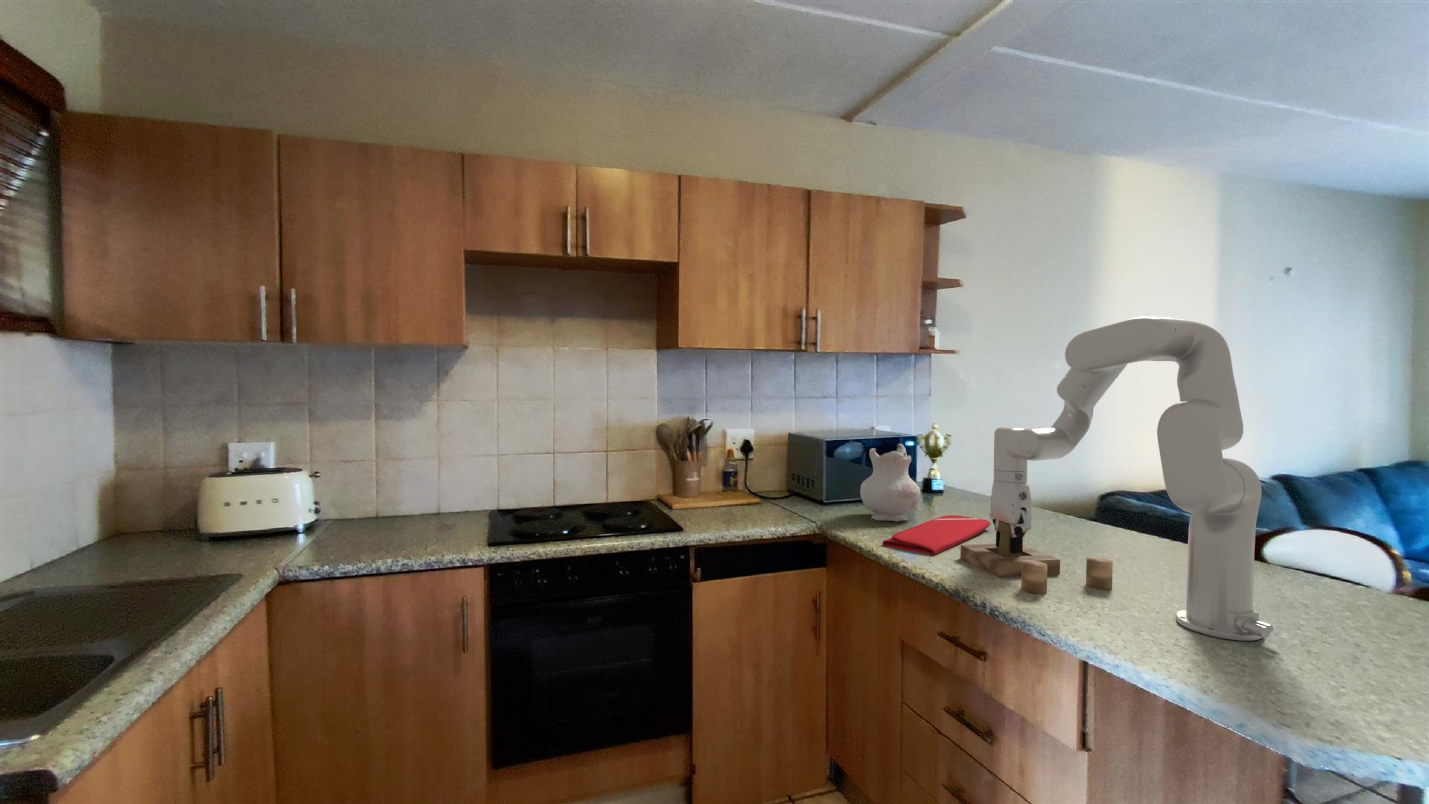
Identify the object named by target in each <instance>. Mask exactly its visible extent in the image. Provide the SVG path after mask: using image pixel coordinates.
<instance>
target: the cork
mask: <svg viewBox="0 0 1429 804" xmlns="http://www.w3.org/2000/svg"><path fill="white" fill-rule="evenodd" d="M1017 524H1019V523H1017ZM1018 528H1019V527H1016V530H1017V529H1018ZM998 530H999V532H1000V540H999V548H998V555H1001V556H1003V557H1016V556H1022V555H1021V553H1010V537H1012V534H1011V527H1010V524H1008V523H1005V522H1002V521H1000V522H999V524H998Z"/></svg>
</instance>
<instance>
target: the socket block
mask: <svg viewBox="0 0 1429 804" xmlns="http://www.w3.org/2000/svg"><path fill="white" fill-rule="evenodd" d="M1021 555H1022V556H1016V557H1003V556H1001V555H998V548H997V547H996V542H995V543H979V544H978V543H976V544H973V543H971V544H960V556H959V557H960V559H961V560H963V561H965V562H967V563H970V564H971V565H973V566H975V567H977V568H979V569H982V570H984V571H986V572H988V573H990V574H992V575H994V576H996V577H998V578H1012V577H1015V578H1017V577H1021V570H1022V561H1025V560H1032V561H1039V562H1043V563H1045V564H1047V574H1051V575H1060V573H1061V558H1057V557H1054V556H1052V555H1050V554H1047V553H1044V552H1042V551H1039V550H1037V549H1034V548H1031V547H1029V546H1026V545H1023V552H1022V553H1021Z"/></svg>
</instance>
